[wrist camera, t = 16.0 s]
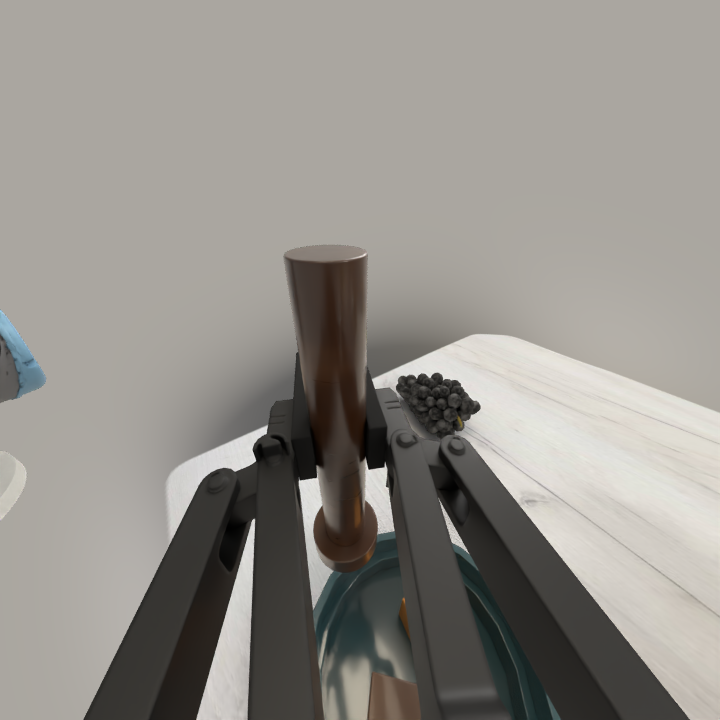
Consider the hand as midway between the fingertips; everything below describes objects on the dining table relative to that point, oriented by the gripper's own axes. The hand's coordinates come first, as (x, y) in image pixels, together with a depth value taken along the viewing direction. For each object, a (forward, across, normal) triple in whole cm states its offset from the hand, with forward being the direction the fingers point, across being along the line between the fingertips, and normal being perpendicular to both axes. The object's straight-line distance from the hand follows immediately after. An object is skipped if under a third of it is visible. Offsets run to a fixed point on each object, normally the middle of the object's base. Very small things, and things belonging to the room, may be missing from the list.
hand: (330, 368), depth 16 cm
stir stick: (-5, 0, -10) cm, 11 cm away
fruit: (+16, +16, -23) cm, 32 cm away
